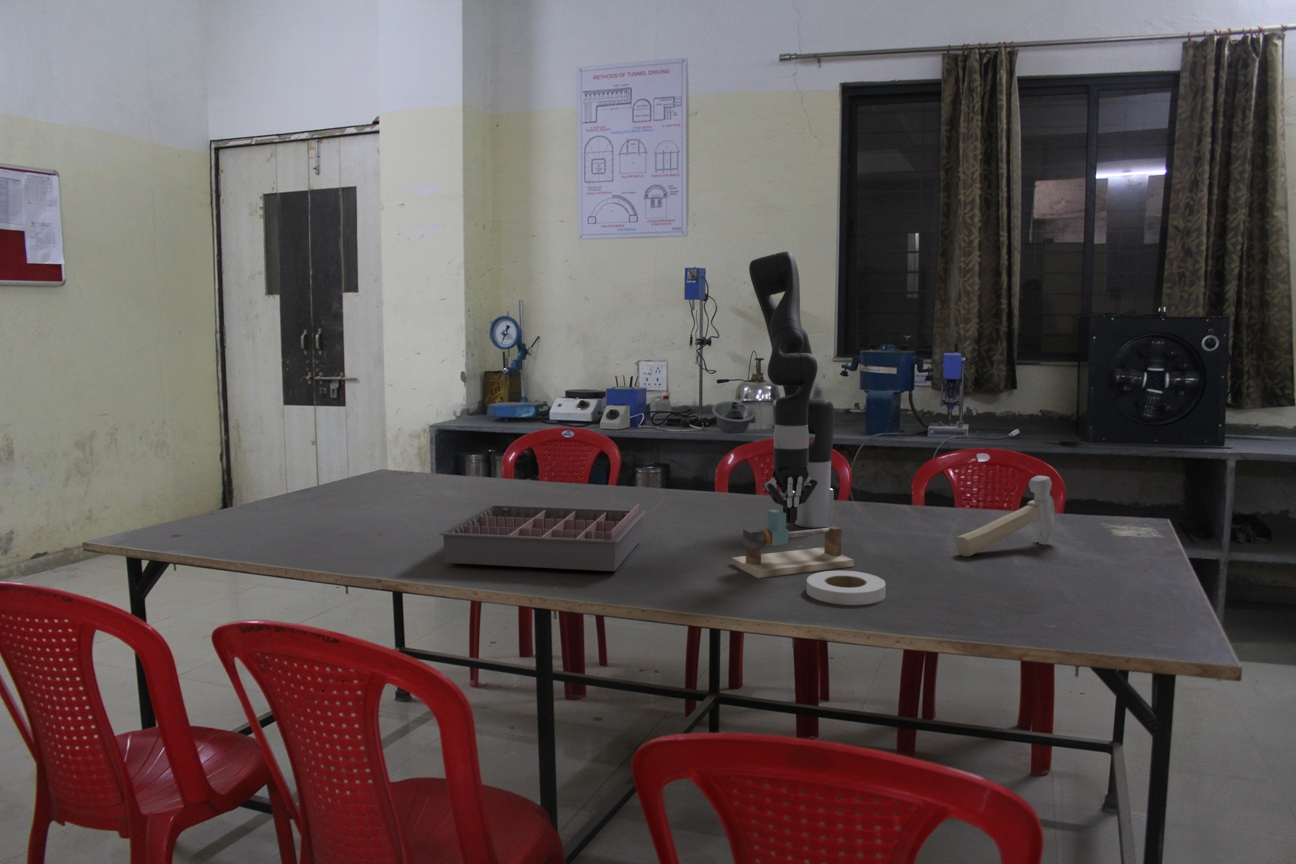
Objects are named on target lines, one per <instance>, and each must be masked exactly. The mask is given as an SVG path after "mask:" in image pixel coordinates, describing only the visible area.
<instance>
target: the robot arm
mask: <svg viewBox="0 0 1296 864" xmlns="http://www.w3.org/2000/svg"><path fill="white" fill-rule="evenodd" d="M797 265H798V264H797V262H796V259H795V256H794V255H793V254H792V253H791V252H790V251H781V252H777V253H773V254H770V255H766V256H761V257H758V258H756V259H753V260H751V261H750V262H749V266H748V271H749V276H750V277H749V278H750V281H751V284H752V287H753V290H754V293H755V296H756V299H757V301H758V304H759V306H760V310H761V312H762V316H763V318H764V321H765V326H766V328H767V329H766V330H767V332H768V334H767V335H768V337H769V342H770V346H771V354H770V357H769V360H768V364H767V378H768V379H769V381H770V382H771V383H772V384H773V385H775V386H777V387H778V386H779V387H783V392H784V396H782V397H779V398H777V399H776V401H775V407H774V408H775V409H774V412H775V413H774V414H775V415H774V416H775V417H774V418H775V419H774V420H775V421H774V424H775V425H774V430H773V431H774V432H773V462H772V463H773V472H772V474H771V477H772V478H770V480H768V481H767V482H766V481H764V482H763V484H762V486H763V488H764V490H766V492H767V494H768V496H770V498H771V499H772V500H773V502H774V503H775V504H777V505H779V506H781V507H782V512H784V513H786V525H796V526H798V527H804V528H811V529H812V528H813V529H821V528H825V526H831V525H833V526H834V493H835V491H834V489H833V488H831V481H832V480H831V478H832V476H831V474H832V452H833V447H834V446H833V445H834V433H835V432H834V431H835V430H834V429H835V423H836V422H835V417H836V416H835V407H834V404H833V402H832V401H831V400H828V399H824V398H821V399H820V398H811V393H812V391H813V387H814V383H815V380H816V377H817V373H818V362H817V359H816V358H815V356H814V355H813V353H812V352H813V351H812V347H811V344H810V340H809V335H808V334H807V333H808V332H807V331H806V330H805V329H804V327H803V326H802V322H801V314H800V313H801V309H800V308H801V294H800V293H801V291H800V288H801V287H800V283H801V282H800V274H799V269H798V266H797ZM782 293H783V295H782V297H781V299H780V301H779V303H778V304H777V303H776V302H775V300H774V298H773V295H777V294H782ZM810 435H814V438H813V441H812V442H811V443H809V441H810V439H809V438H810ZM777 488H778V489H779V491H778V489H777Z"/></svg>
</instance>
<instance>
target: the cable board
mask: <svg viewBox="0 0 1296 864" xmlns="http://www.w3.org/2000/svg"><path fill="white" fill-rule="evenodd" d="M842 530H843V529H842V527H838V526H836V525H834V524H833V525H829V526H825V527H821V528H813V529H812V528H811V529H804V530H795V531H788V538H795V537H806V536H807V537H808V536H816V535H824V547H814V548H813V547H812V548H805V549H804V548H803V549H795V550H787V551H780V552H779V551H778V552H771V553H770V552H769V553H762V549H764V548H765V546H769V545H770V543H771V533H770V531H769V530H768V529H765V528H764V529H763V528H762V529H759V528H757V527H751V528H743V530H742V532H743V533H742V546H744V547H745V555H743V556H733V557H731V559H730V560H731V561H730V562H731V566H734V567H736V568H738V569H739V570H741V571H744V572H745V573H747V574H749V575H751V576H753V577H755V578H757V579H761V578H769V577H778V576H785V575H792V574H802V573H810V572H811V573H812V572H818V571H829V570H832V569H833V570H834V569H841V568H843V569H844V568H851V567H854V566H855V565H854V564H855V560H854V558H850V557H848V556H846V555H844V554H842Z"/></svg>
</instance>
